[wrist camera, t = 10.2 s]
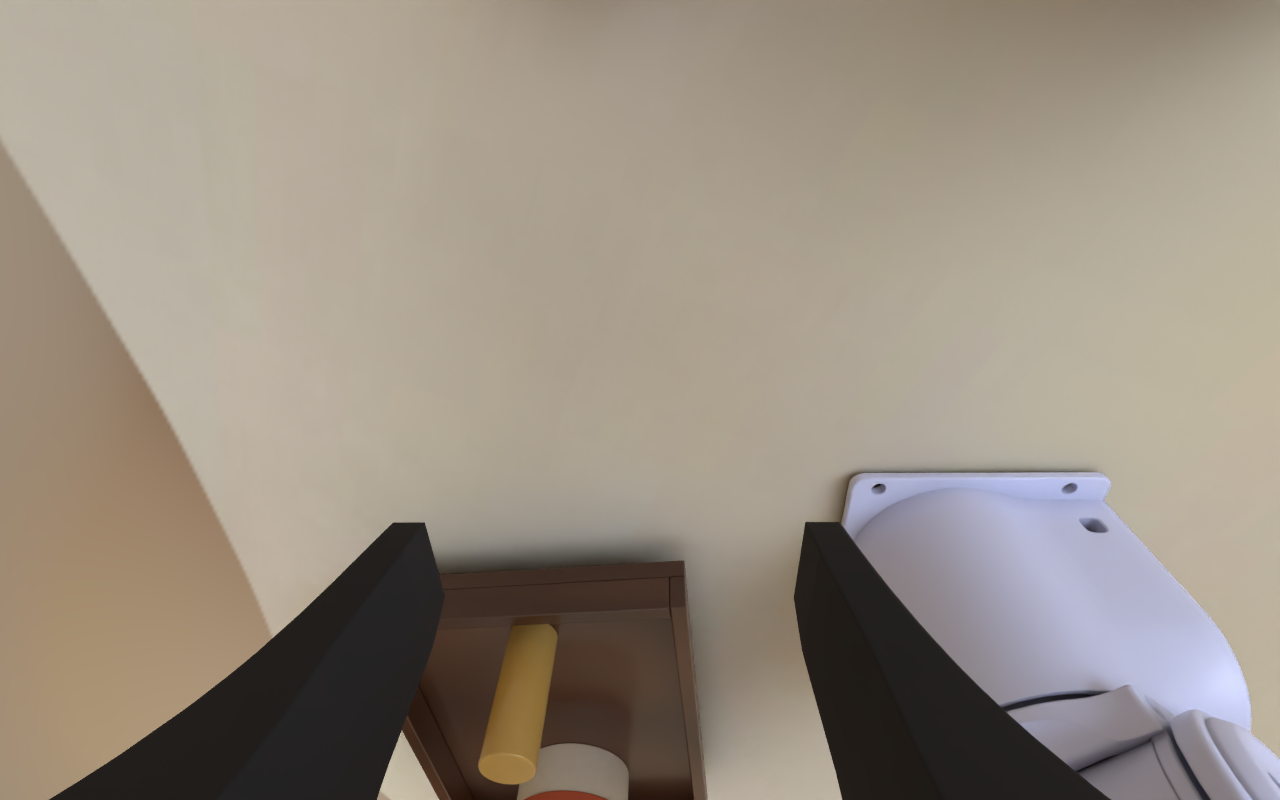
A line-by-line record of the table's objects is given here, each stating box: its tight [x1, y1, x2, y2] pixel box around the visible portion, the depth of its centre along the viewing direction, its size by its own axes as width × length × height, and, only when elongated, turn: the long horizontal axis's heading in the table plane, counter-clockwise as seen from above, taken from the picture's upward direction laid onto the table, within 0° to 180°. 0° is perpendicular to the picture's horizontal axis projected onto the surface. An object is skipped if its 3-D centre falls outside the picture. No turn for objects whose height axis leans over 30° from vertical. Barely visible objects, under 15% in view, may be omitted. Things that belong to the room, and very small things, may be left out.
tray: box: [402, 561, 708, 800], centre depth 27 cm, size 18×13×6 cm
